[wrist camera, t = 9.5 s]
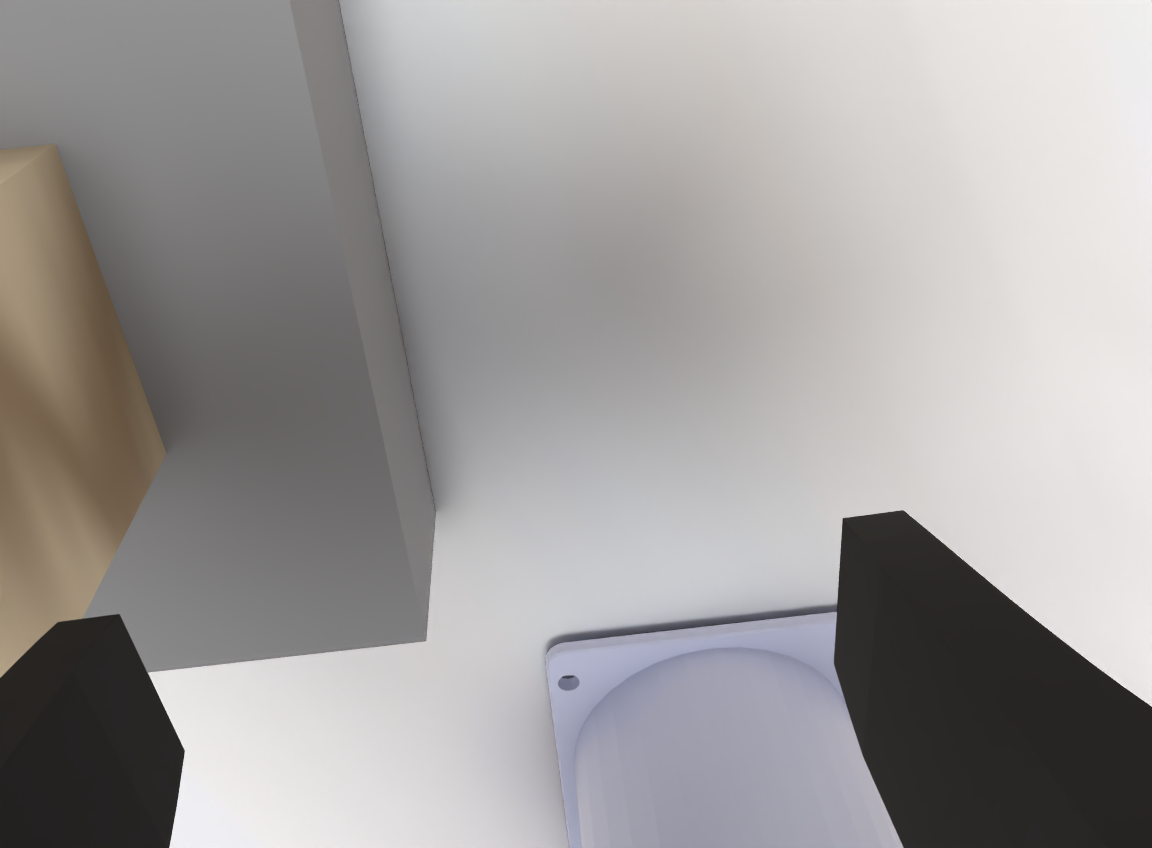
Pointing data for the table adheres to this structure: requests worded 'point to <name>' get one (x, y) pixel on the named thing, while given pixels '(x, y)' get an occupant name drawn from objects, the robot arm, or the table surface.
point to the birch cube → (60, 408)
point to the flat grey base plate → (239, 319)
